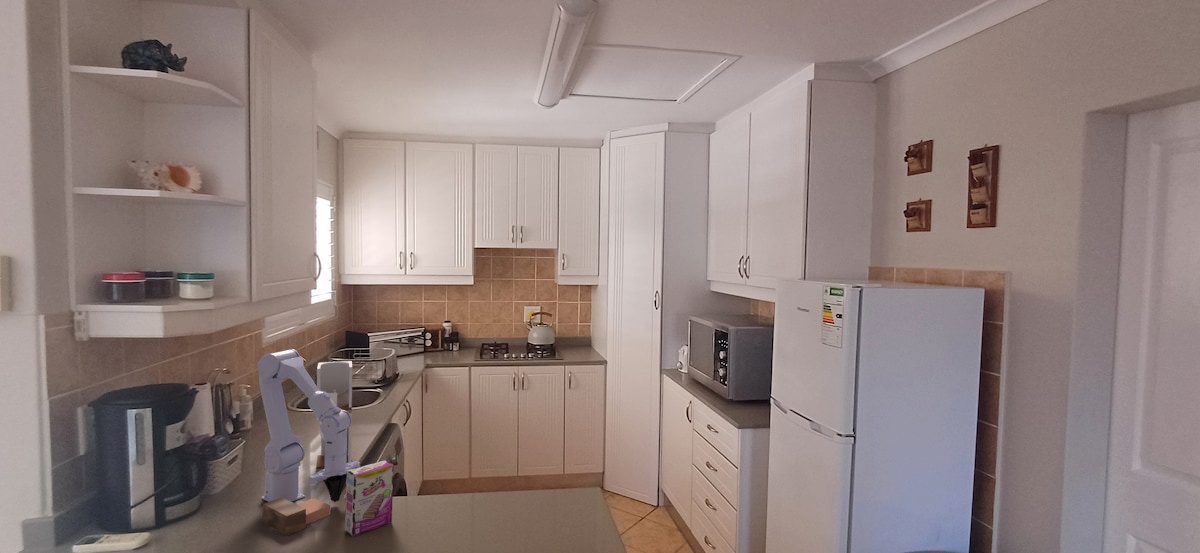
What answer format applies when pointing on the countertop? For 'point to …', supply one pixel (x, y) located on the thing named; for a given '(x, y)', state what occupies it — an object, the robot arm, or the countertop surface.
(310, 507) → the terracotta brick
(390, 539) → the countertop surface
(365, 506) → the candy bar box
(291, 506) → the tan wooden box
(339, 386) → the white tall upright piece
